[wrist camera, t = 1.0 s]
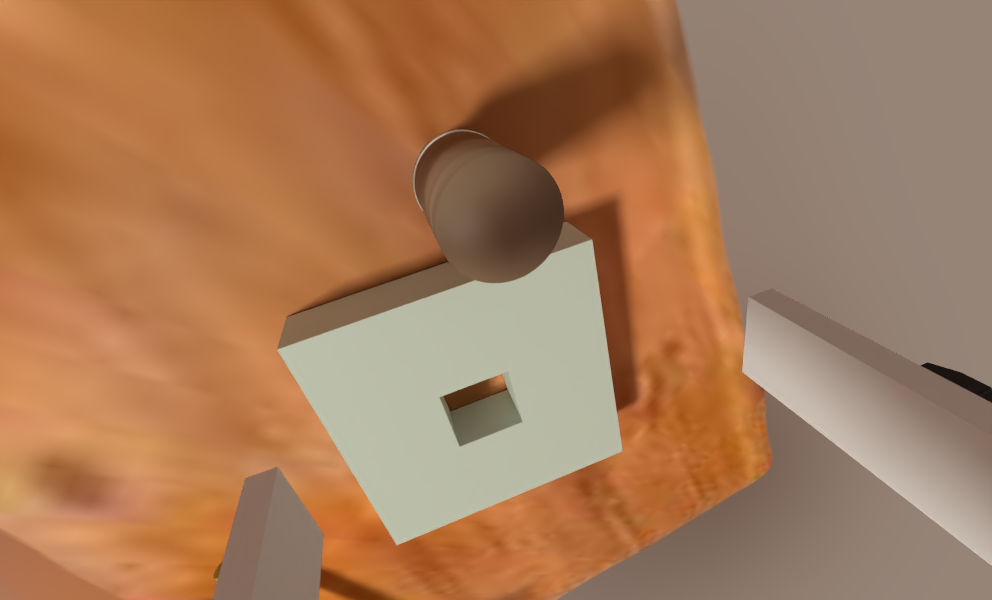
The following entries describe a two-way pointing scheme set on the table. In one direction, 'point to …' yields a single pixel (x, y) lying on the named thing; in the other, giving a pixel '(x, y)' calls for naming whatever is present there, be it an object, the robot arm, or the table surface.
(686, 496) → the table surface
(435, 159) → the peg
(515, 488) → the board
